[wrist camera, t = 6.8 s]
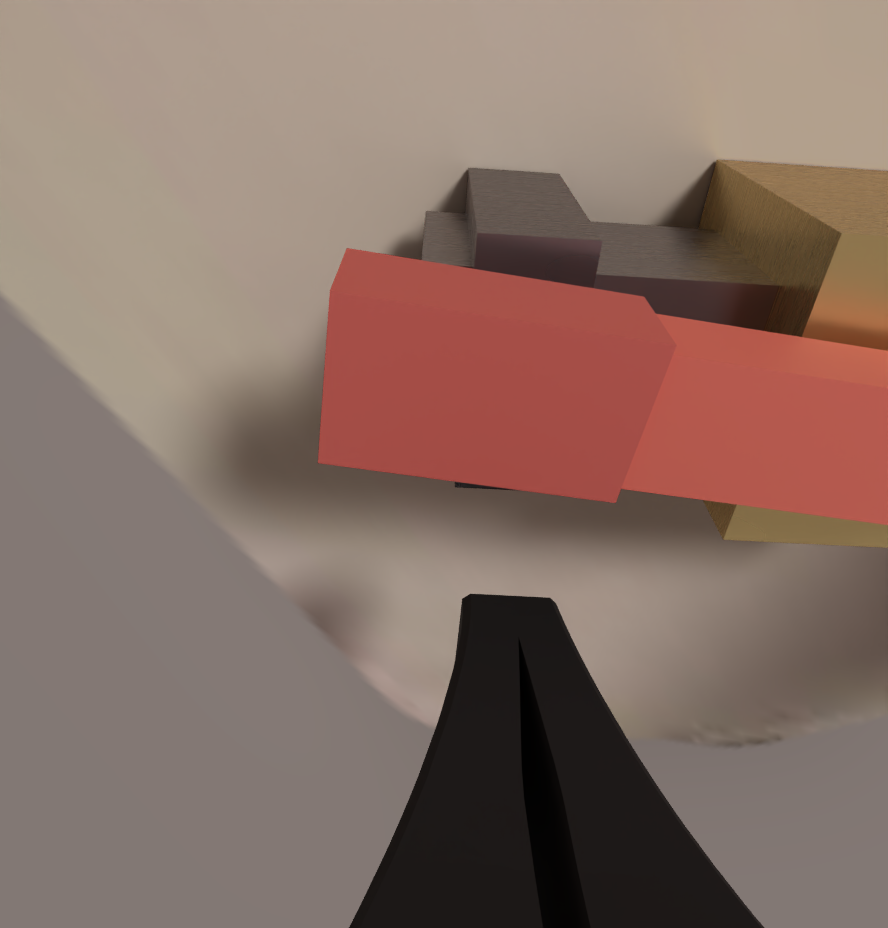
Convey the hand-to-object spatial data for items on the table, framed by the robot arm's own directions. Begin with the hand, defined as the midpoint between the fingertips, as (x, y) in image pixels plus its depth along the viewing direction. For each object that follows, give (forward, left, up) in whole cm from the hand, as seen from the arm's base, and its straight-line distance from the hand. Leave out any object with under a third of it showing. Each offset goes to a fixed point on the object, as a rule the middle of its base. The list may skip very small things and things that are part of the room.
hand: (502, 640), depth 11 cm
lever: (-3, -4, -1) cm, 5 cm away
